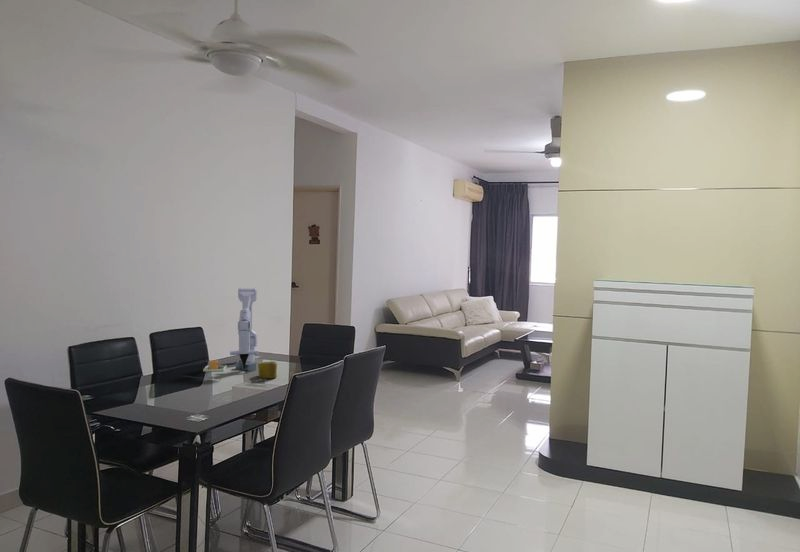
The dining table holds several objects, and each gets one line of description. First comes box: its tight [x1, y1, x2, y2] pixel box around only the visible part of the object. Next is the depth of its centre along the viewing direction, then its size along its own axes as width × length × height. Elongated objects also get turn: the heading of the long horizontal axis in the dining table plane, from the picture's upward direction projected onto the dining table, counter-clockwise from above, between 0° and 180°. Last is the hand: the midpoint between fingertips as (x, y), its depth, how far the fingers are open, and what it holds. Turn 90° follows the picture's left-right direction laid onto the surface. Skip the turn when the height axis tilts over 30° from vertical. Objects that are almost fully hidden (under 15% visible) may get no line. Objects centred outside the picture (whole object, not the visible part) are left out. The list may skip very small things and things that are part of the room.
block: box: [209, 359, 220, 369], centre depth 319 cm, size 4×4×5 cm
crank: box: [235, 359, 257, 372], centre depth 320 cm, size 12×5×4 cm, turn 57°
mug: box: [257, 361, 278, 380], centre depth 306 cm, size 12×10×10 cm
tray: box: [202, 364, 228, 372], centre depth 320 cm, size 11×11×2 cm
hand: (244, 368), depth 317 cm, fingers closed
